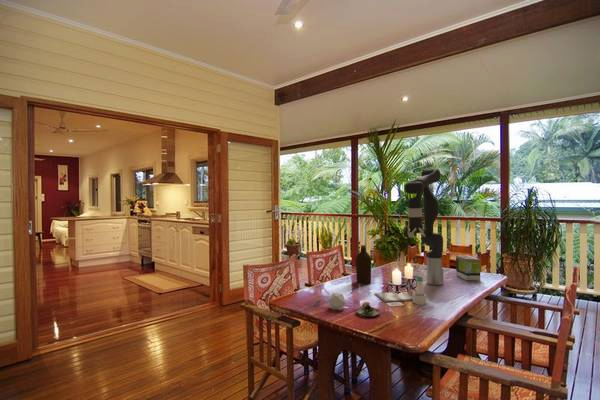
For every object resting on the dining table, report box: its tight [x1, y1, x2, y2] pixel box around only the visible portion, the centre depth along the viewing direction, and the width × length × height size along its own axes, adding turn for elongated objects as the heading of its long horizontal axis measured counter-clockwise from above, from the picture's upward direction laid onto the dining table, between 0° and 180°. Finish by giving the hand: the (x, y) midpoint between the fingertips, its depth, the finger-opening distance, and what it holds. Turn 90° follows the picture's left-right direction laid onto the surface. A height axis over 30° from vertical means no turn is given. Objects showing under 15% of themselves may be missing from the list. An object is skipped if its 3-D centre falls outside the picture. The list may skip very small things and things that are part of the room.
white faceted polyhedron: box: [328, 292, 347, 311], centre depth 169 cm, size 8×9×10 cm
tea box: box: [455, 254, 481, 281], centre depth 226 cm, size 15×10×15 cm, turn 179°
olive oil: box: [355, 244, 372, 285], centre depth 219 cm, size 11×11×25 cm
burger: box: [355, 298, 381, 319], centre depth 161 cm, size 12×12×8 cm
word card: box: [385, 302, 405, 307], centre depth 174 cm, size 5×8×1 cm, turn 99°
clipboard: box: [374, 291, 413, 304], centre depth 186 cm, size 20×16×1 cm
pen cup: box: [412, 292, 427, 306], centre depth 176 cm, size 6×6×4 cm
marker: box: [415, 275, 424, 296], centre depth 176 cm, size 3×3×14 cm
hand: (416, 243), depth 190 cm, fingers open, 8 cm apart
